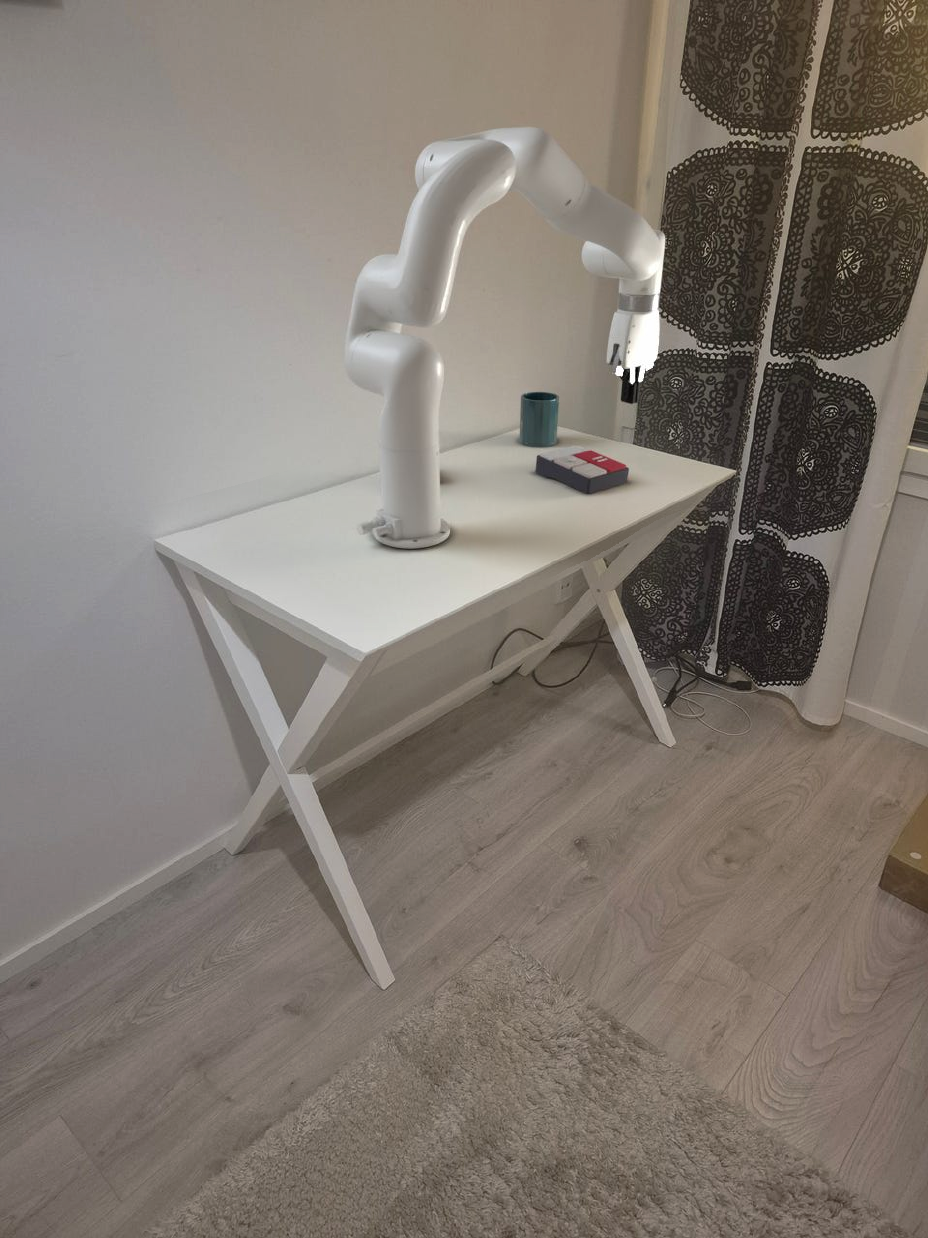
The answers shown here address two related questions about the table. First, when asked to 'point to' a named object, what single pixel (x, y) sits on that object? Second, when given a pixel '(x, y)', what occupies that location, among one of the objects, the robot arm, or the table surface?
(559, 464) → the button box
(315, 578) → the table surface
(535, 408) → the pen pot
